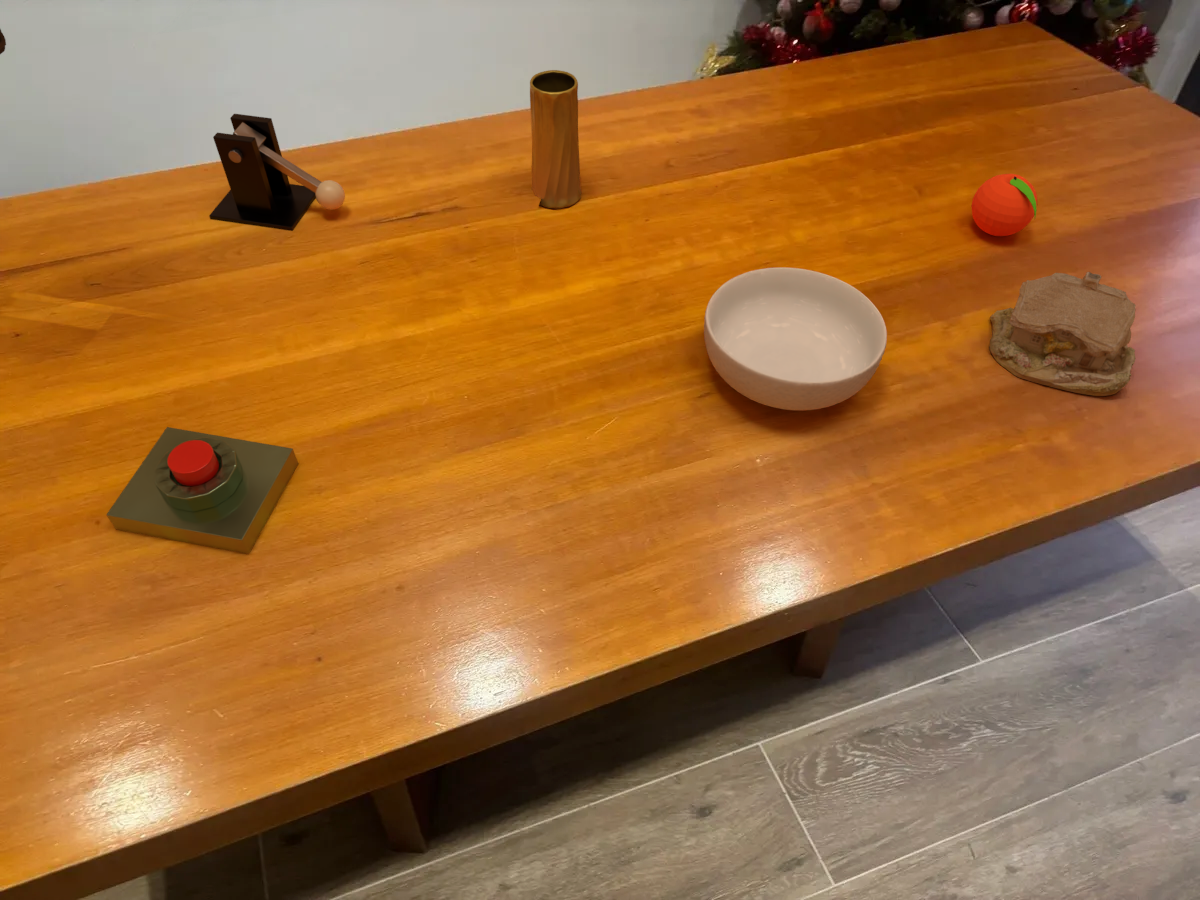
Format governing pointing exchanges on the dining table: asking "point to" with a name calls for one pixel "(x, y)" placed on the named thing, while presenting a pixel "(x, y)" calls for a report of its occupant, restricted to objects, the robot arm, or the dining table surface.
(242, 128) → the lever
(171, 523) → the button box
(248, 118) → the bracket
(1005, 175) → the clementine
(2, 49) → the robot arm
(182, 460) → the button
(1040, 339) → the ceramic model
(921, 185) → the dining table surface
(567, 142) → the vase
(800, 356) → the cereal bowl
